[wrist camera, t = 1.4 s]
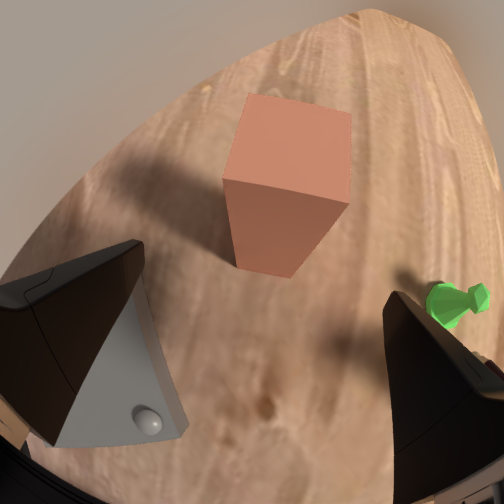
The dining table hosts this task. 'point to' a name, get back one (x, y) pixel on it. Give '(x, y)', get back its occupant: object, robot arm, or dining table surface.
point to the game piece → (455, 303)
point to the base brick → (126, 388)
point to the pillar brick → (285, 181)
